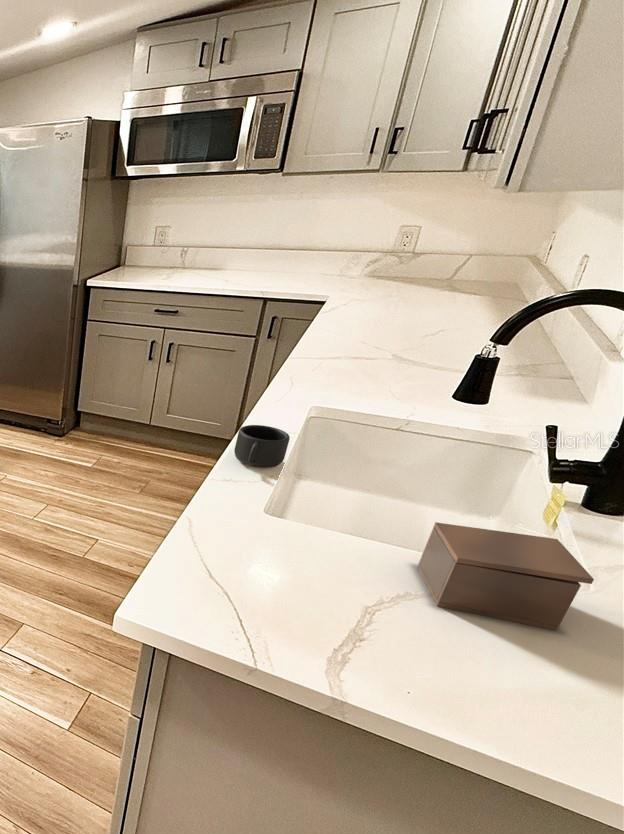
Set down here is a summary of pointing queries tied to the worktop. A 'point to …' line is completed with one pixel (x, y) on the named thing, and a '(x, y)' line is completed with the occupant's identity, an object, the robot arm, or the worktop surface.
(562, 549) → the lid
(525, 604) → the box
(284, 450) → the mug
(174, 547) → the worktop surface
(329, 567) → the worktop surface
